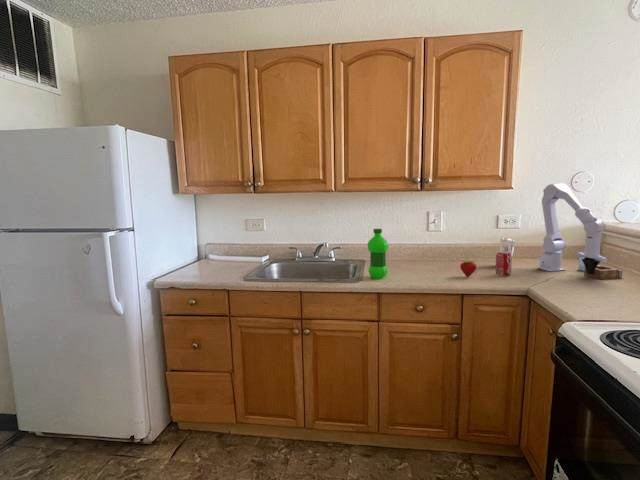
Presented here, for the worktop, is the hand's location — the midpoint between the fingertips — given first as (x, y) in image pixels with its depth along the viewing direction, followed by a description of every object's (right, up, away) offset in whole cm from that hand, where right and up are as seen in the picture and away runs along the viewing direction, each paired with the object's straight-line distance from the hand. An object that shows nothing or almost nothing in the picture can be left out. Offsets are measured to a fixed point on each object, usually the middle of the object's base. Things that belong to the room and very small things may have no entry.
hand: (589, 273), depth 169 cm
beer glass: (-26, +2, +26) cm, 37 cm away
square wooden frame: (+6, -1, +1) cm, 6 cm away
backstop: (+11, -1, +1) cm, 11 cm away
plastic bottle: (-99, -3, +12) cm, 100 cm away
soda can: (-37, -2, +8) cm, 38 cm away
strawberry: (-55, -2, +7) cm, 56 cm away
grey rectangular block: (+7, +1, +12) cm, 14 cm away
